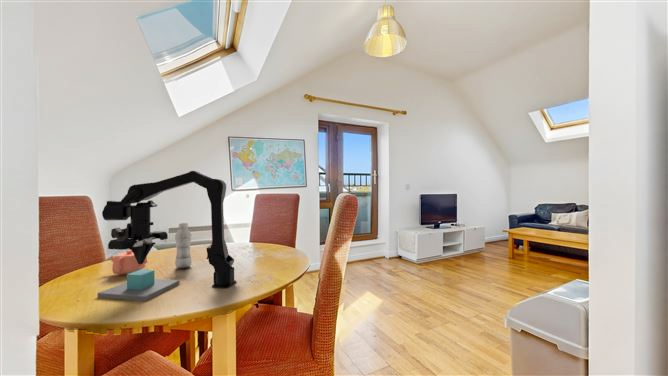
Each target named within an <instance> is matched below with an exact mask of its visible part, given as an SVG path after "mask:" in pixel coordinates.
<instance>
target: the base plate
mask: <svg viewBox="0 0 668 376" xmlns="http://www.w3.org/2000/svg"><path fill="white" fill-rule="evenodd" d="M178 285H180V280H178V279H164V278H162V279H161V278H154V284H153V285H151V286H149V287H146V288H144V289H142V290H136V289H127V281H124V282H123V283H120V284H117V285H114V286H113V287H109V288H107V289H105V290H102V291H100V292H97V298H99V299H112V300H122V301H123V300H126V301H136V302H139V301H140V302H147V301H149V300H151V299H153V298H154V297H157V296H158V295H161V294H163V293H164V292H167V291H168V290H169V291H170V289H172V288H175V287H176V286H178Z"/></svg>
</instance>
